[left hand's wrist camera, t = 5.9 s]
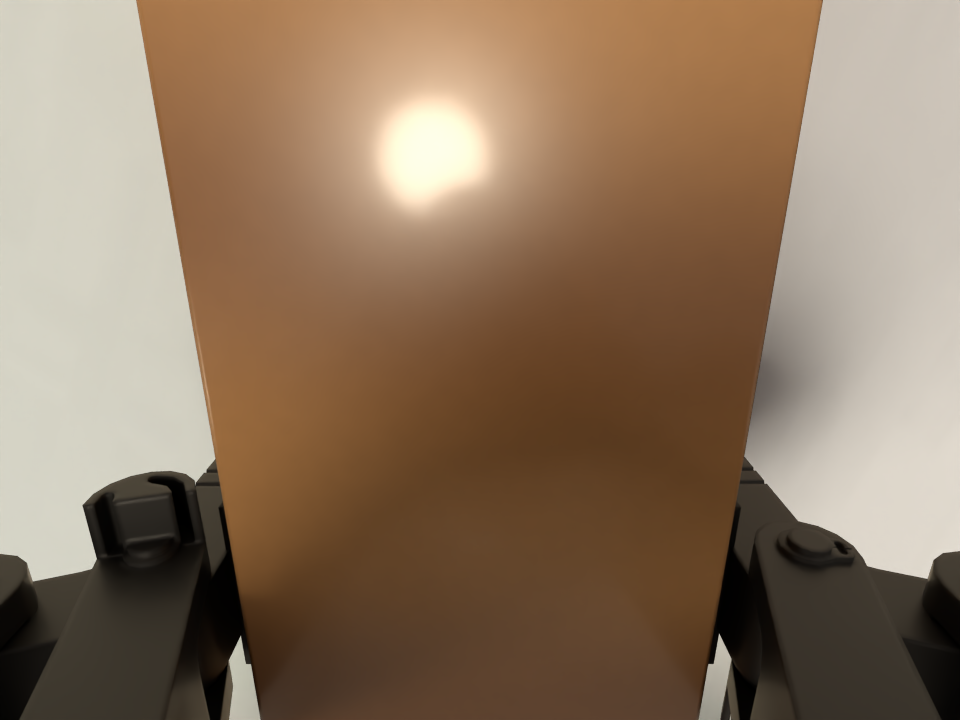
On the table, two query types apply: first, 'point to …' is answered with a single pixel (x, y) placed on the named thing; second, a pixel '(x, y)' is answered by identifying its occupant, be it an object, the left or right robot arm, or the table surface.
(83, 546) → the table surface
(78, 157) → the table surface
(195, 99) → the bar
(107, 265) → the table surface
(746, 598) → the left robot arm
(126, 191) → the table surface
